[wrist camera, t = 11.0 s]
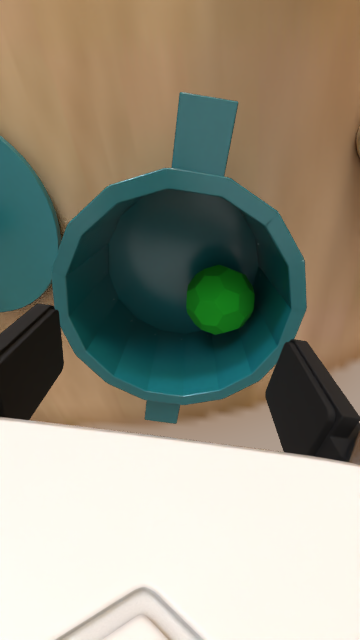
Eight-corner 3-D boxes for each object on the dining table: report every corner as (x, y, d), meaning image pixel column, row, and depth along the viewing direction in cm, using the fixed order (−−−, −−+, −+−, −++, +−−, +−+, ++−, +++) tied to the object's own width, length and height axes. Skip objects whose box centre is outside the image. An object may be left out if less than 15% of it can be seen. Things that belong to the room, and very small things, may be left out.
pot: (101, 349, 26) (64, 417, 19) (100, 112, 17) (29, 60, 10) (235, 368, 27) (252, 442, 19) (303, 145, 18) (384, 120, 10)
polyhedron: (169, 287, 17) (227, 332, 16) (217, 239, 18) (275, 277, 17) (175, 317, 22) (221, 354, 20) (213, 278, 23) (259, 310, 21)
